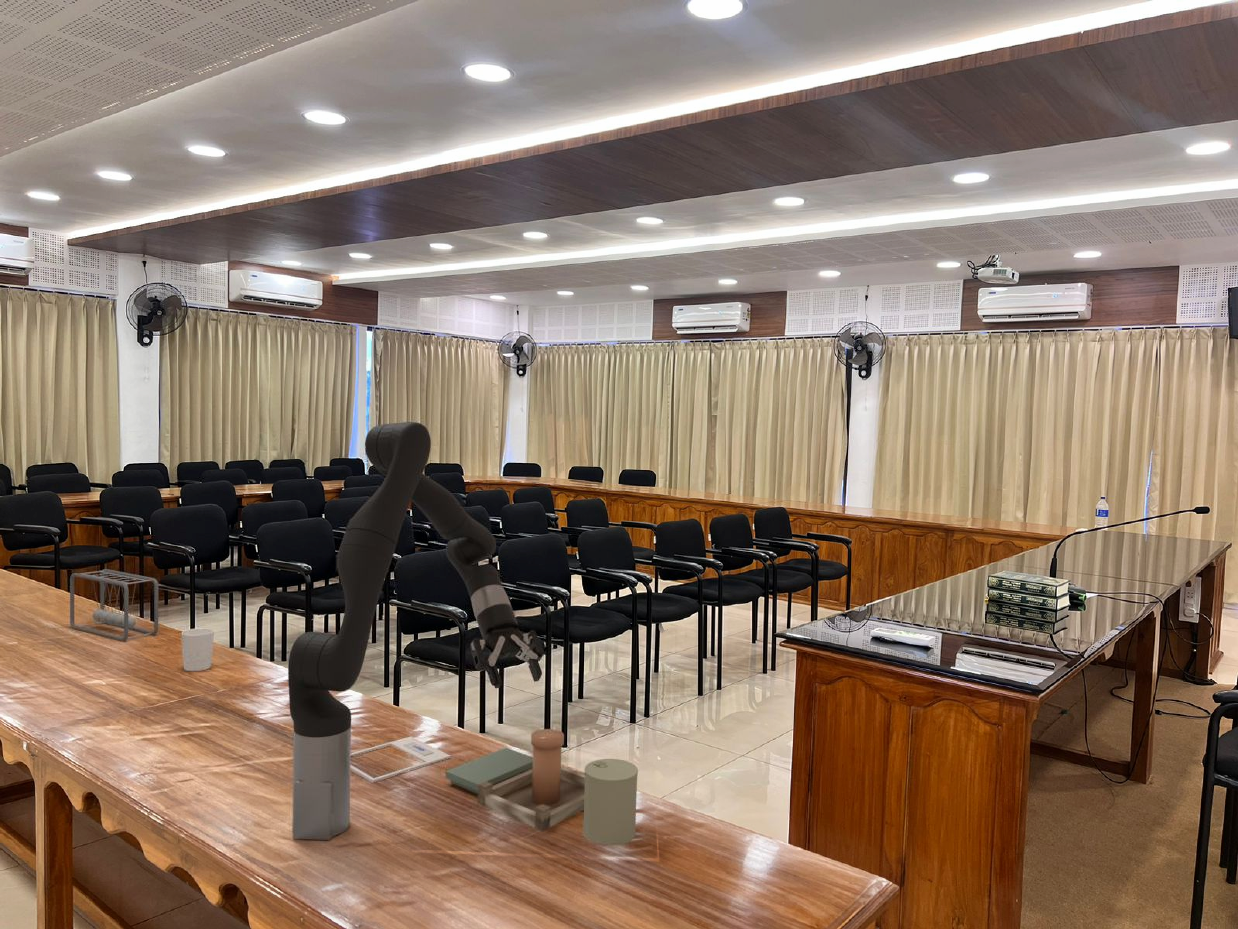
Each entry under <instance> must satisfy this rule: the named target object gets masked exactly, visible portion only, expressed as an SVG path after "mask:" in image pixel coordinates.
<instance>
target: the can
mask: <svg viewBox="0 0 1238 929" xmlns="http://www.w3.org/2000/svg"><path fill="white" fill-rule="evenodd" d="M583 769H584V774H585V795H584V810H583V825H582V835H583V836H584V838H585V839H586V840H587V841H590V842H591V843H594V844H598V845H602V846H621V845H624V844H628V843H629V842H631V841H633V840H634V839H635V838H636V836H637V834H636V832H637V830H636V827H637V826H636V822H637V821H636V820H637V818H636V817H637V816H636V815H637V795H638V794H637V791H638V773H639V768H638V767H637V765H635V764H633V763H631V762H630V761H626V760H624V759H618V758H601V759H595V760H593V761H590V762H588V763H587V764H586V765H585V767H584V768H583Z"/></svg>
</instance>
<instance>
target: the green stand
mask: <svg viewBox="0 0 1238 929" xmlns="http://www.w3.org/2000/svg"><path fill="white" fill-rule="evenodd" d="M531 769H533V756H531V755H527V754H524V753H521V752H518V751H516V750H513V749H511V748H508V747H505V748H501V749H499V750H497V751H494V752H491V753H488V754H487V755H484V756H481V757H479V758H476V759H473V760H471V761H469V762H466V763H464V764H461V765H459V766H455V767H453V768H450V769H448V770H446V771H445V779H449V780H450V783H451V784H453V785H455V786H458V787H460V788H462V789H464V790H465V789H466V790H467V791H470V792H472V793H475V794H477V795H478V784H480V783H482V782H485V781H487V782H489V783H492V786H494V785H496V784H498V783H501V782H503V781H505V780H508V779H510V778H512V777H514V776H517V775H519V774H521V773H524V772H526V771H528V770H531Z"/></svg>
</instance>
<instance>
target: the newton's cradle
mask: <svg viewBox="0 0 1238 929" xmlns="http://www.w3.org/2000/svg"><path fill="white" fill-rule="evenodd" d="M96 573H100V574H99V576H98V575H96ZM92 574H93V575H92ZM108 574H109V575H108ZM106 576H112V578H109V577H106ZM116 577H120V580H119V578H118V579H115V578H116ZM75 578H80V579H84V580H89V581H92V585H93V590H94V595H95V599H96V605H97V609H96V610H95V611H93V613H92V618H93V620H94V621H96V622H94V623H88V624H81V625H76V623H75V622H76V621H75ZM123 579H126V580H125V581H123ZM130 579H131V580H132V581H133V582H129V581H130ZM94 581H95V582H98V583H99V586H100V587H99V592H100V595H99V597H100V598H99V599H100V601H99V602H100V604H98V599H97V595H96V590H95V589H96V587H95V584H94ZM146 582H152V583H153V585H154V586H153V587H154V588H153V590H154V591H153V592H154V593H153V595H154V597H153V601H154V602H153V603H154V604H153V609H154V612H153V613H154V614H153V617H154V618H153V627H154V628H153V630H150V629H149V630H148V629H145V628H142V627H136V624H137V619H136V618H135V617H134V616H132V614H131V613H132V611H130V613H129V607H131V608H130V610H132V608H133V605H131V606H129V602H130V601H129V597H130V596H129V595H130V594H129V592H130V591H129V585H133V584H134V586H136V585H137V584H139V583H146ZM108 584H109V585H112V586H111V588H114V589H116V586H119V587H118V592H117V590H114V593H115V598H116V602H115V606H117V607H115V609H114V611H113V606H112V602H111V597H112V592H113V589H111V590H109V586H108ZM106 588H107V592H108V597H109V601H108V604H110V605H108V607H107V610H106V605H105V591H106ZM120 589H121V592H122V596H123V606H122V609H123V610H121V612H120V607H119V602H118V599H119V594H120ZM135 590H136V587H134V589H133V592H135ZM109 591H110V592H109ZM116 592H117V593H118V594H117V593H116ZM132 596H133V597H132V598H134V596H135V593H133V594H132ZM133 602H134V599H132V601H131V604H133ZM99 605H100V606H99ZM99 607H100V608H99ZM109 607H110V609H111V611H110V610H109ZM117 608H118V612H116V610H117ZM123 613H124V614H123ZM69 615H70V616H69V622H70V626H71V628H72V629H74V630H77V631H81V632H85V633H89V634H92V635H97V636H100V637H104V638H108V639H111V640H112V639H113V640H117V641H119V642H126V641H127V640H131V639H135V638H139V637H144V636H149V635H151V636H155V635H157V634H158V632H159V581H158V580H157V579H156V578H154V577H148V576H145V575H144V576H143V575H139V574H133V573H128V572H123V571H118V570H114V569H113V570H112V569H108V568H104V569H102V570H98V571H97V570H95V571H89V572H80V573H77V572H74V573H72V574H71V575H70V578H69ZM98 624H99V625H100V624H106V625H110V626H114V627H118V628H122V629H123V637H122V636H120V635H115V634H110V633H107V632H104V631H99V630H95V629H91V628H87V626H94V625H98ZM129 630H130V631H134V632H139V633H142V634H140V635H135V636H134V635H133V636H130V637H129Z"/></svg>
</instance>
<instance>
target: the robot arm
mask: <svg viewBox="0 0 1238 929" xmlns="http://www.w3.org/2000/svg"><path fill="white" fill-rule="evenodd" d="M431 440H432V439H431V435H430V432H429V430H428V428H427V427H426V426H425V425H424V424H422V423H420V422H417V421H416V422H415V421H403V422H395V423H393V422H392V423H383V424H382V423H381V424H378V425H376V426H373V427H372V428H371V429H370V430H369V431H368V432H367V435H366V437H365V442H364V448H365V449H364V450H365V454H366V457H367V459H368V461H369V462H370V463H371V465H372V466H373V467H374V468H375V469H376V470H377V471H378V472H379V473H380V474H381V475H382V476H384V477H385V478H384V480H383V481H382V483H381V485H380V486H379V488H378V489H377V490H376V491H375V492H374V494H372V496H370V498H369V499H367V500H366V502H365V503H364V504H363V505H362V506H361V507H360V508H359V509H358V510H357V512H356V513H355V514H354V515H353V516H352V518H351V519H350V521H349V522H348V524H347V526H346V528H345V532H344V534H343V538H342V541H341V543H340V546H339V548H338V549H339V550H338V552H337V556H336V566H337V571H338V576H339V579H340V580H339V581H340V582H341V587H342V591H343V595H344V603H345V604H344V605H345V607H344V612H343V619H342V621H341V622H342V623H341V626H340V629H339V631H338V633H337V634H336V633H329V632H318V631H307V632H303V633H302V634H300V635H299V636H298V637H297V638H296V639H295V641H294V642H293V644H292V646H291V648H290V653H289V656H288V663H287V664H288V666H287V678H288V679H287V680H288V699H289V700H288V701H289V712H290V717H291V720H292V722H293V723H292V724H293V743H292V744H293V746H292V747H293V748H292V752H293V753H292V756H293V757H292V824H291V825H292V828H291V829H292V839H295V840H316V841H317V840H318V841H329V840H330V841H331V839H332V838H333V837H335V836H338V835H340V834H342V833H343V832H345V831H347V829H348V828H349V827H350V823H351V820H350V819H351V816H350V815H351V770H350V765H351V757H350V755H351V753H352V752H351V750H352V749H351V746H352V745H351V744H352V712H351V710H350V709H351V708H349V707H348V706H347V705H346V704H344V703H343V702H342V701H340V700H338V699H337V698H336V697H334V696H333V695H332V693H331V692H338V693H339V692H347V691H348V690H350V689H351V688H352V687H353V686H354V685H355V684H356V682H357V680H358V679H359V676H360V673H361V670H362V668H363V665H364V661H365V657H366V651H367V648H368V645H369V640H370V635H371V629H372V627H373V621H374V617H375V613H376V610H377V605H378V603H379V598H380V595H381V592H382V589H383V585H384V583H385V579H386V576H387V573H388V571H389V569H390V565H391V563H392V559H393V557H394V554H395V550H396V547H397V544H398V541H399V536H400V533H401V529H402V526H403V523H404V521H405V518H406V516H407V512H408V509H409V506H410V503H411V502H412V503H413V504H415V506H416V507H417V508H418V509H419V510H420V511H421V512H422V514H424V516H425V517H426V519H428V521H429V522H430V524H431V525H432V526H433V527H434V529H435V530H436V531H437V533H438V535H440V537H442V539H444V540H447V541H448V542H447V544H446V547H445V554H446V556H447V560H448V561H449V562H450V564H452V566H453V567H454V569H456V571H457V573H458V574H459V575H460V577H461V578H462V580H463V582H464V584H465V586H466V589H467V592H468V595H469V597H470V598H469V599H470V601H471V606H472V610H473V614H474V618H475V619H476V623H477V624H478V628H479V631H480V634H481V636H482V639H480V638H478V637H474V638H473V640H472V641H471V643H470V645H469V648H470V651H471V656H472V658H473V664H474V667H475V670H476V671H478V672H479V671H485V672H486V673H487V675H488V679H489V682H490V684H491V685H492V687H494V688H495V689H500V687H501V686H502V684H503V681H502V678H501V675H500V672H499V669H498V666H497V665H496V662H497V660H498V658H499V660H504V659H506V658H515V657H516V658H518V659H519V660H521V661H524V662H525V663H527V665H528V668H529V672H530V674H531V677H532V679H533V682H539V681H540V680H541V678H542V675H543V671H542V668H541V666H540V663H539V662H540V661H541V660H542V658H543V657H544V656H545V654H546V653H545V651H544V648H543V646H542V644H541V642H540V639H539V637H538V634H537V633H536V630H534V629H531V630H530V631H529V632H526V633H523V632H521V631H520V629H519V623H518V621H517V618H516V616H515V612H514V609H513V607H512V605H511V602H510V599H509V597H508V594H507V593H506V591H505V589H504V587H503V583H502V581H501V578H500V575H499V573H498V570H497V569H496V567H495V566H494V565H492V564H488V563H485V564H478V563H480V562H482V561H484V560H486V559H488V558H490V557H492V555H494V553H495V552H496V549H497V542H496V539H495V536H494V535H493V533H492V532H491V531H490V530H489V529H488V528H487V527H486V526H484V525H483V524H481V523H480V522H478V521H477V520H475V519H474V518H473V517H471V516H470V515H469V514H468V513H467V512H466V511H465V509H464V508H463V506H462V505H461V503H460V502H459V501H458V499H457V498H456V497H455V495H453V493H451V492H450V491H449V490H448V489H446V488H445V487H444V486H443V485H441V484H439V483H437V482H436V481H434V480H433V479H432V478H430V477H428V476H427V475H425V474H424V471H425V469H426V466H427V464H428V461H429V458H430V454H431V449H432V448H431V446H432V442H431ZM476 564H478V565H476ZM473 565H474V566H473ZM484 648H485V649H487V651H489V652H490V654H489V656H488V659H487V660H486V659H485V654H484V652H483V651H484V650H483V649H484ZM521 650H522V651H521ZM330 691H331V692H330Z"/></svg>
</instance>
